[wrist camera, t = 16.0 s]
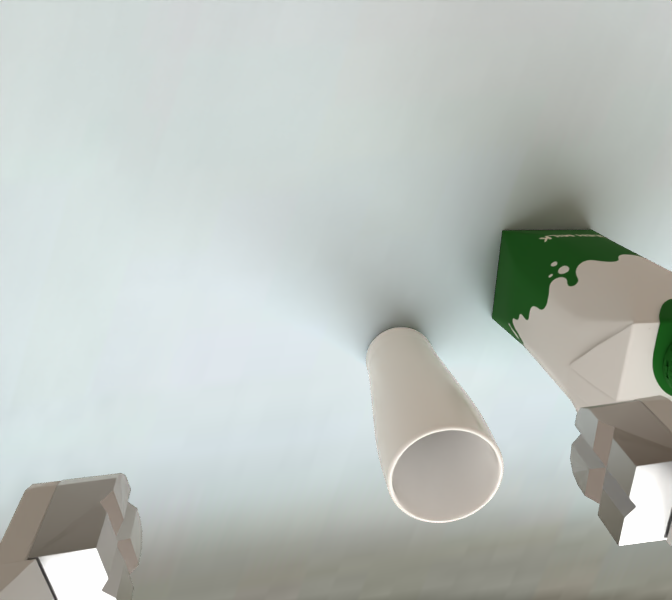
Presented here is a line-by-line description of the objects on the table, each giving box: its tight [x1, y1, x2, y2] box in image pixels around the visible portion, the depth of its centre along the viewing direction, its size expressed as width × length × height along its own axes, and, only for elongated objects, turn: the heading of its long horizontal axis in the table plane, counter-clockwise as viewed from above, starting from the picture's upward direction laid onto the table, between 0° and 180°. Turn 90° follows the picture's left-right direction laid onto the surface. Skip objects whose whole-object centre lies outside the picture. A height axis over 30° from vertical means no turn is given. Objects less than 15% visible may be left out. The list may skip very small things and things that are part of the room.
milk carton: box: [492, 230, 672, 413], centre depth 35 cm, size 9×9×20 cm
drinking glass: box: [366, 327, 504, 523], centre depth 39 cm, size 7×7×15 cm
